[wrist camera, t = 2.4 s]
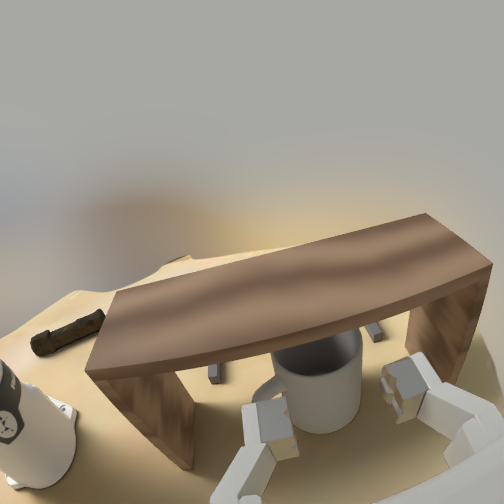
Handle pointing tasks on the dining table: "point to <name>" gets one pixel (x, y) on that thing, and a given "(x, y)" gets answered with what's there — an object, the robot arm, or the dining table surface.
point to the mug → (318, 381)
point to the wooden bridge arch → (285, 315)
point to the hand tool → (66, 333)
